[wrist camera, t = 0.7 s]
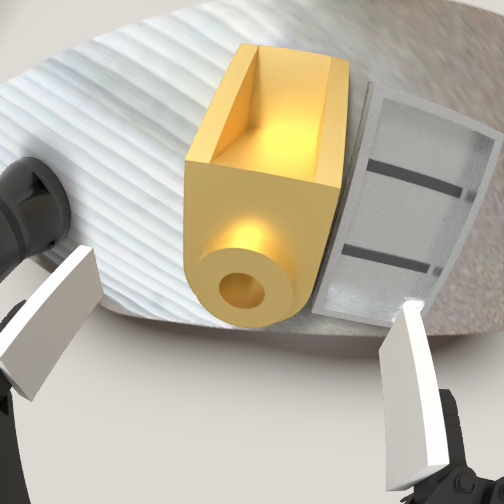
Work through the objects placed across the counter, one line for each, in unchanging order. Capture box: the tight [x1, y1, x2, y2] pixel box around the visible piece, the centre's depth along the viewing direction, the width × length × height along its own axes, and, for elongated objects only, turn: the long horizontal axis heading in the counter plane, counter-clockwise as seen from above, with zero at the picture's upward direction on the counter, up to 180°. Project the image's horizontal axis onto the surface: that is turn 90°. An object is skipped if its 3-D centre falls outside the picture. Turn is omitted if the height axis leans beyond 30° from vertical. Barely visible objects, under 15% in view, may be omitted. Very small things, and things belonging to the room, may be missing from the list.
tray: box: [312, 82, 504, 328], centre depth 31 cm, size 14×26×4 cm, turn 173°
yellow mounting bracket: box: [183, 44, 349, 328], centre depth 25 cm, size 20×9×16 cm, turn 173°
